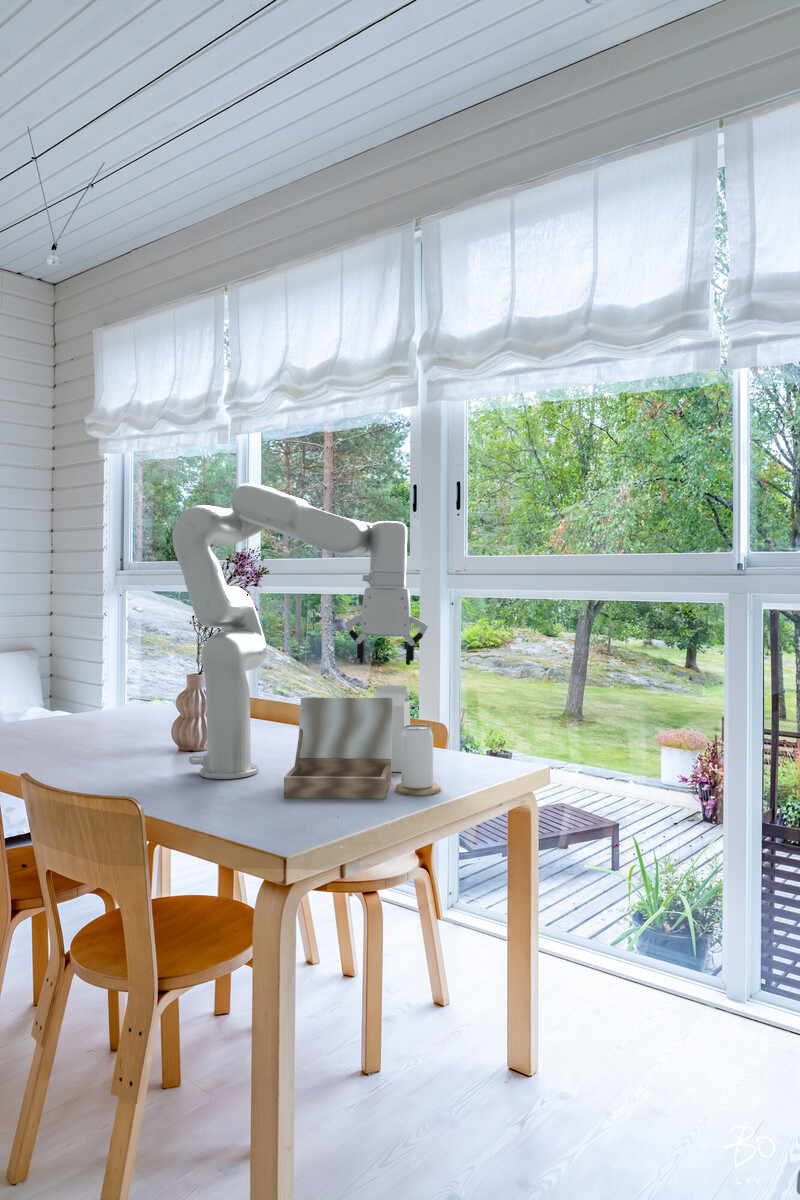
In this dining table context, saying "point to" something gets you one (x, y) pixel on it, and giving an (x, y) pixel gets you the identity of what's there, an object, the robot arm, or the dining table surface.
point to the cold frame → (342, 749)
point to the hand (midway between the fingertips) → (385, 663)
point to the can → (417, 757)
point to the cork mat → (418, 790)
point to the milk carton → (396, 717)
